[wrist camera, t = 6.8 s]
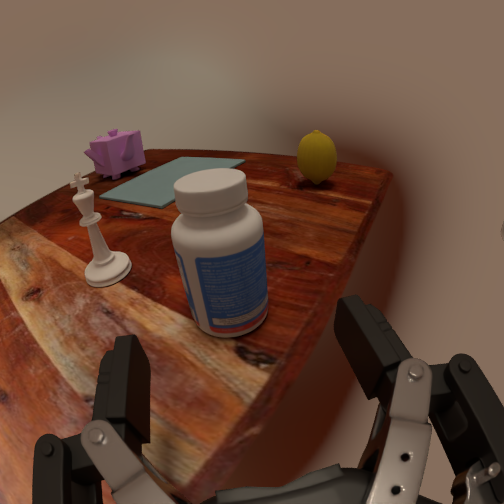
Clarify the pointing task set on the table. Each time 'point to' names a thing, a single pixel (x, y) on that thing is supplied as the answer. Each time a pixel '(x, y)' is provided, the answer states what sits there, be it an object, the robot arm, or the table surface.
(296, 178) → the table surface
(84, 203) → the chess piece
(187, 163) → the cloth mat
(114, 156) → the teapot
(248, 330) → the pill bottle
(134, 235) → the table surface
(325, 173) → the lemon
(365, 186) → the table surface
